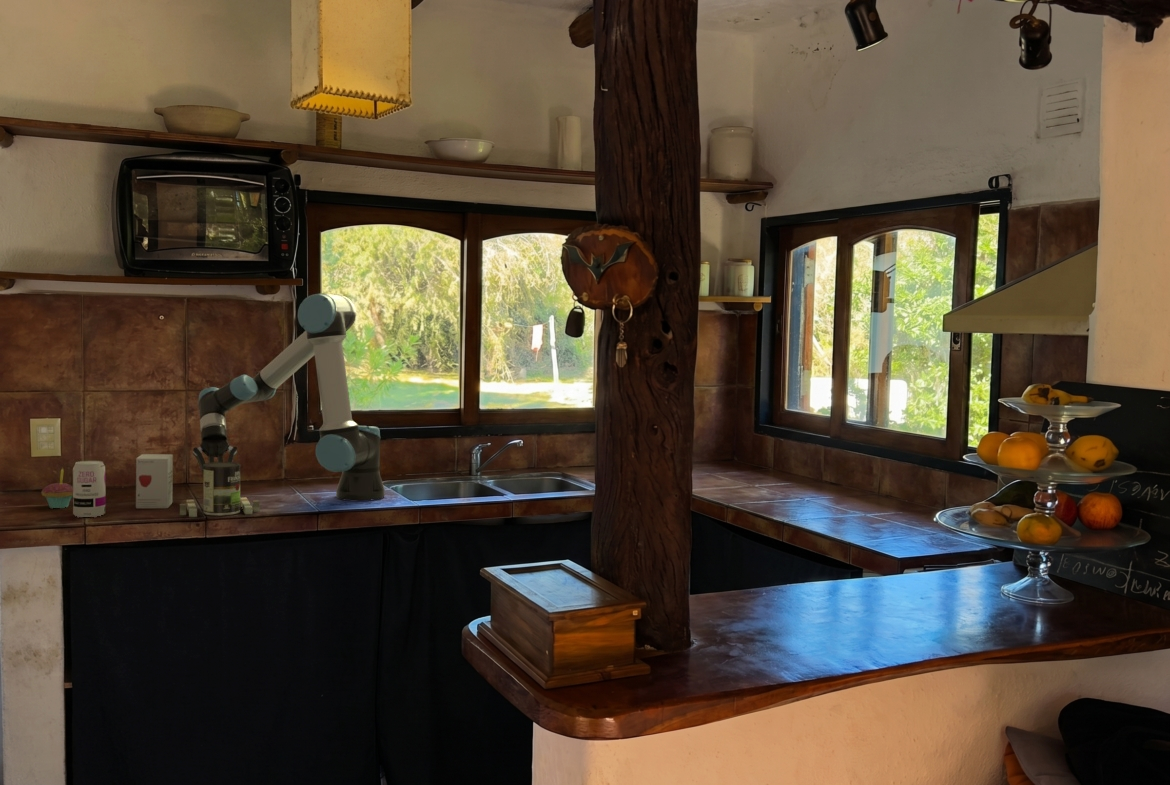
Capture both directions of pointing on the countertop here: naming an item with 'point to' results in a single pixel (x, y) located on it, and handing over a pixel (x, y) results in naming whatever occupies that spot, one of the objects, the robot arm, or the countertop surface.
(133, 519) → the countertop surface
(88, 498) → the supplement can
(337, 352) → the robot arm
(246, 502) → the slot track
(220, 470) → the coffee can
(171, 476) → the supplement box
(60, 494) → the cupcake
